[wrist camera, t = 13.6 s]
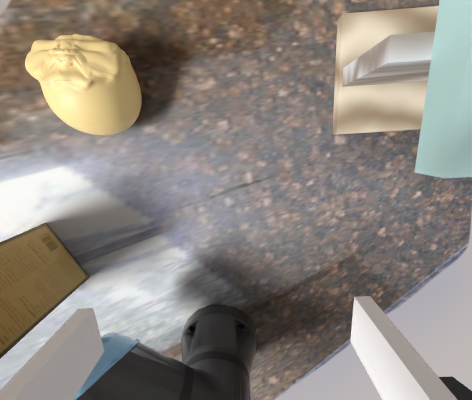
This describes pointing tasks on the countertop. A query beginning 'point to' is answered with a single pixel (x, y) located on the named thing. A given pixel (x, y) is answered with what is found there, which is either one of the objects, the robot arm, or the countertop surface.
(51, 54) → the sculpture
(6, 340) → the food packaging
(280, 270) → the countertop surface
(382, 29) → the balance stand
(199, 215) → the countertop surface
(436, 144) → the beam
